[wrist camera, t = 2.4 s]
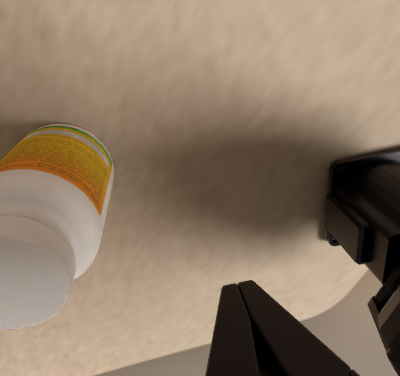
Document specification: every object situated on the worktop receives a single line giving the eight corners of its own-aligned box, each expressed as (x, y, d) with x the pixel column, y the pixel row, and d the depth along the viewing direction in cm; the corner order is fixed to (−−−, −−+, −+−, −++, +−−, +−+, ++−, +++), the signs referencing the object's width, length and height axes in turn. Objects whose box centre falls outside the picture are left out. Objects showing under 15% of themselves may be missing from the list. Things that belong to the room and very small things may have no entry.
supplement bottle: (7, 120, 18) (-124, 216, 9) (112, 122, 19) (83, 213, 10) (24, 208, 20) (-67, 351, 12) (117, 207, 21) (96, 339, 12)
